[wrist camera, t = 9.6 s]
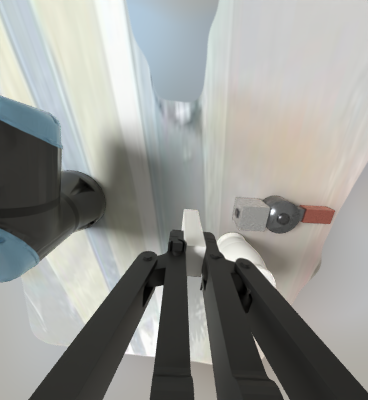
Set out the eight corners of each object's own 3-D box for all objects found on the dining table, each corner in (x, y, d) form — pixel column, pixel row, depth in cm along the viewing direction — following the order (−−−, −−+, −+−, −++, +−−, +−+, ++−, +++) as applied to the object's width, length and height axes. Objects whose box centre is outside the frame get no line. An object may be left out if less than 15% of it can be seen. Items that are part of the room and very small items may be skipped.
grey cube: (231, 218, 45) (237, 230, 40) (234, 197, 43) (242, 206, 37) (254, 219, 45) (264, 231, 40) (259, 198, 43) (270, 207, 38)
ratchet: (239, 222, 46) (247, 233, 40) (245, 194, 43) (253, 201, 38) (319, 226, 46) (337, 237, 41) (330, 198, 43) (350, 206, 38)
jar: (226, 265, 51) (242, 314, 37) (204, 243, 48) (212, 287, 34) (256, 245, 48) (286, 290, 34) (235, 221, 46) (257, 258, 32)
